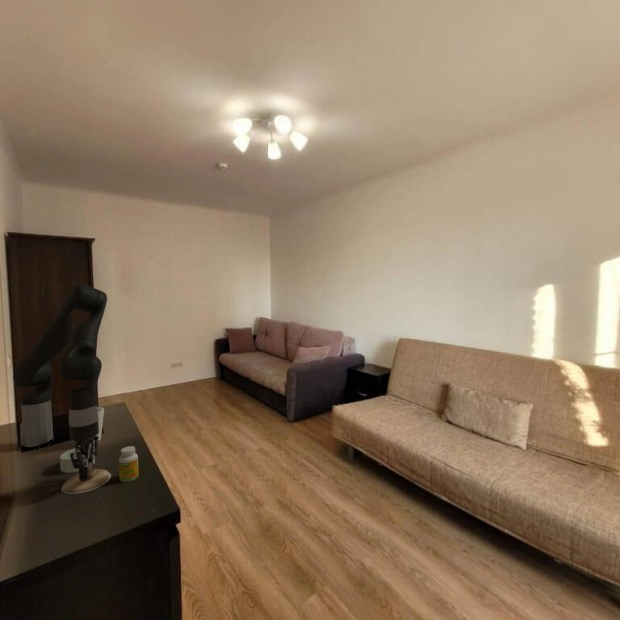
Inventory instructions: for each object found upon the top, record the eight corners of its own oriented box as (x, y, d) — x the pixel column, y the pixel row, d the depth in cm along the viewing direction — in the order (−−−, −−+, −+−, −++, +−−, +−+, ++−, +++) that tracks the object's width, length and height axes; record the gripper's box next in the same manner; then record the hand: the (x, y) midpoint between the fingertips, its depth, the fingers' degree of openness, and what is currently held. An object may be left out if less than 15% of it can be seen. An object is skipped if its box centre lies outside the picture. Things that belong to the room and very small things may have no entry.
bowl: (53, 474, 111) (53, 459, 111) (73, 460, 121) (73, 446, 121) (83, 473, 111) (82, 458, 111) (100, 459, 121) (100, 446, 121)
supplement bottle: (119, 485, 104) (117, 454, 103) (119, 477, 109) (118, 447, 108) (138, 480, 106) (137, 450, 106) (138, 472, 111) (137, 443, 111)
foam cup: (103, 436, 142) (102, 405, 142) (106, 443, 135) (105, 411, 135) (76, 442, 137) (74, 410, 136) (78, 450, 129) (76, 416, 129)
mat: (50, 496, 99) (50, 494, 99) (79, 473, 112) (79, 471, 112) (95, 495, 99) (95, 493, 99) (119, 472, 112) (119, 470, 112)
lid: (54, 493, 99) (53, 474, 99) (80, 472, 111) (79, 456, 111) (94, 491, 99) (93, 473, 99) (116, 471, 111) (115, 455, 111)
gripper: (86, 428, 98) (89, 486, 99) (106, 412, 112) (108, 463, 113) (58, 431, 97) (61, 489, 97) (81, 414, 111) (83, 466, 111)
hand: (86, 475), depth 105 cm, fingers closed on lid, 3 cm apart
